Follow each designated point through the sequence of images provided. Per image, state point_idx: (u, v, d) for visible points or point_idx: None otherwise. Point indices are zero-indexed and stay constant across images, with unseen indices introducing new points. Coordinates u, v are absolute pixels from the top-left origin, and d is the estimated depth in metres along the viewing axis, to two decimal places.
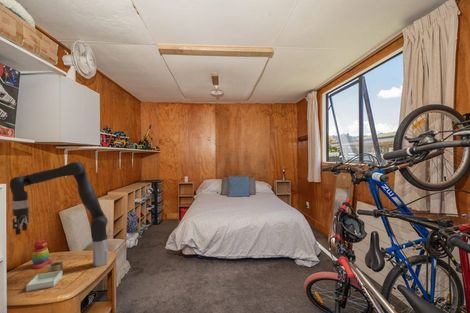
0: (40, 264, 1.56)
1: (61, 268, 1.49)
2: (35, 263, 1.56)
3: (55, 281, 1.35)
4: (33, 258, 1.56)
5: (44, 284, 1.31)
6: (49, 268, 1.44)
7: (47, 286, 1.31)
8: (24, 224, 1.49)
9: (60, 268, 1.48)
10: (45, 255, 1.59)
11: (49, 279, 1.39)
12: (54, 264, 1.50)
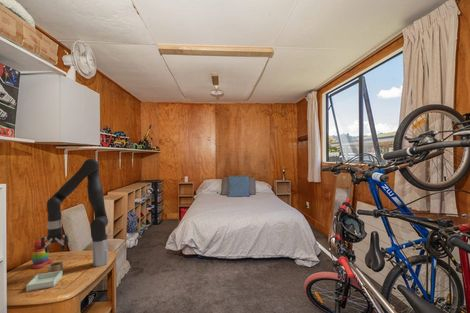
0: (40, 264, 1.56)
1: (61, 268, 1.49)
2: (35, 263, 1.56)
3: (55, 281, 1.35)
4: (33, 258, 1.56)
5: (44, 284, 1.31)
6: (49, 268, 1.44)
7: (47, 286, 1.31)
8: (47, 246, 1.47)
9: (60, 268, 1.48)
10: (45, 255, 1.59)
11: (49, 279, 1.39)
12: (54, 264, 1.50)
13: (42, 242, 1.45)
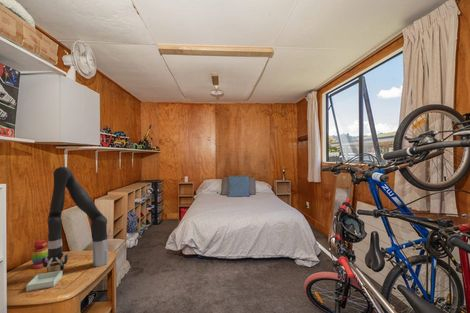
0: (40, 264, 1.56)
1: None
2: (35, 263, 1.56)
3: (55, 281, 1.35)
4: (33, 258, 1.56)
5: (44, 284, 1.31)
6: (49, 268, 1.44)
7: (47, 286, 1.31)
8: None
9: (60, 268, 1.48)
10: (45, 255, 1.59)
11: (49, 279, 1.39)
12: (54, 264, 1.50)
13: (44, 262, 1.45)
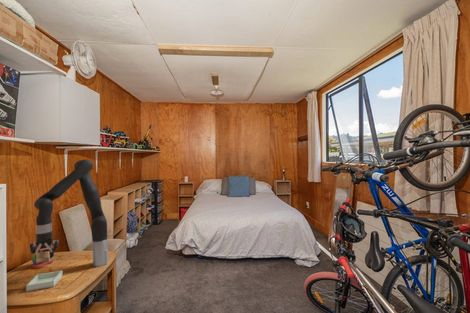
0: (40, 264, 1.56)
1: None
2: (35, 263, 1.56)
3: (55, 281, 1.35)
4: (33, 258, 1.56)
5: (44, 284, 1.31)
6: (37, 255, 1.33)
7: (47, 286, 1.31)
8: None
9: None
10: None
11: (49, 279, 1.39)
12: (43, 251, 1.38)
13: (31, 249, 1.33)
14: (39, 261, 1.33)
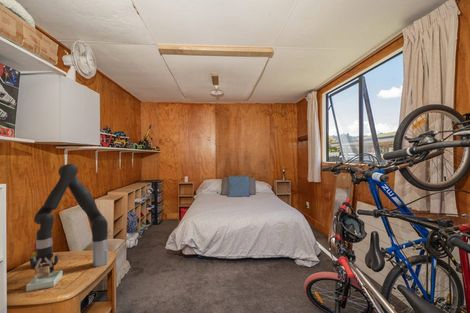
0: None
1: None
2: (35, 263, 1.56)
3: (55, 281, 1.35)
4: None
5: (44, 284, 1.31)
6: (37, 269, 1.33)
7: (47, 286, 1.31)
8: None
9: None
10: None
11: (49, 279, 1.39)
12: (43, 265, 1.38)
13: (31, 263, 1.33)
14: (39, 276, 1.33)
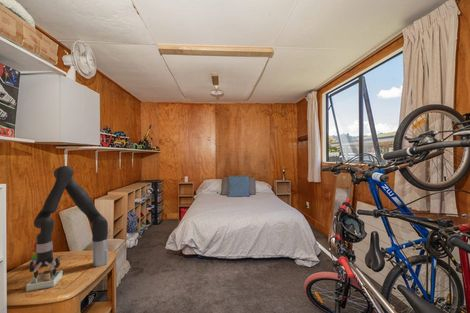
0: None
1: (51, 277, 1.38)
2: (35, 263, 1.56)
3: (55, 281, 1.35)
4: (33, 258, 1.56)
5: (44, 284, 1.31)
6: (38, 277, 1.33)
7: (47, 286, 1.31)
8: (37, 270, 1.35)
9: (50, 277, 1.36)
10: None
11: None
12: (44, 272, 1.38)
13: (31, 267, 1.33)
14: None
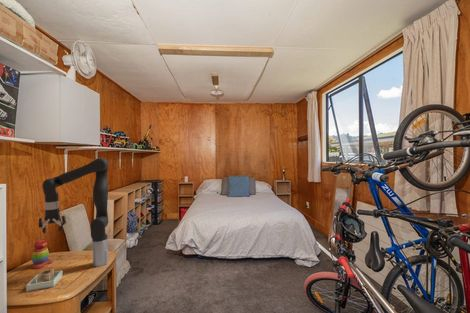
0: (40, 264, 1.56)
1: (51, 277, 1.38)
2: (35, 263, 1.56)
3: (55, 281, 1.35)
4: (33, 258, 1.56)
5: (44, 284, 1.31)
6: (38, 277, 1.33)
7: (47, 286, 1.31)
8: (45, 227, 1.49)
9: (50, 277, 1.36)
10: (45, 255, 1.59)
11: None
12: (44, 272, 1.38)
13: (40, 223, 1.47)
14: None
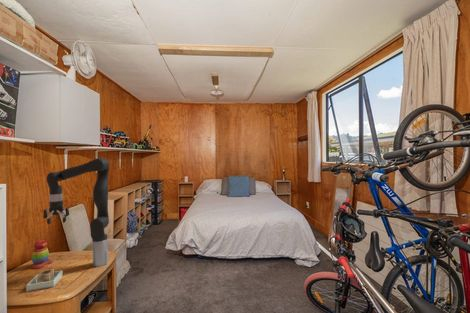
0: (40, 264, 1.56)
1: (51, 277, 1.38)
2: (35, 263, 1.56)
3: (55, 281, 1.35)
4: (33, 258, 1.56)
5: (44, 284, 1.31)
6: (38, 277, 1.33)
7: (47, 286, 1.31)
8: (49, 218, 1.57)
9: (50, 277, 1.36)
10: (45, 255, 1.59)
11: None
12: (44, 272, 1.38)
13: (44, 214, 1.55)
14: None
